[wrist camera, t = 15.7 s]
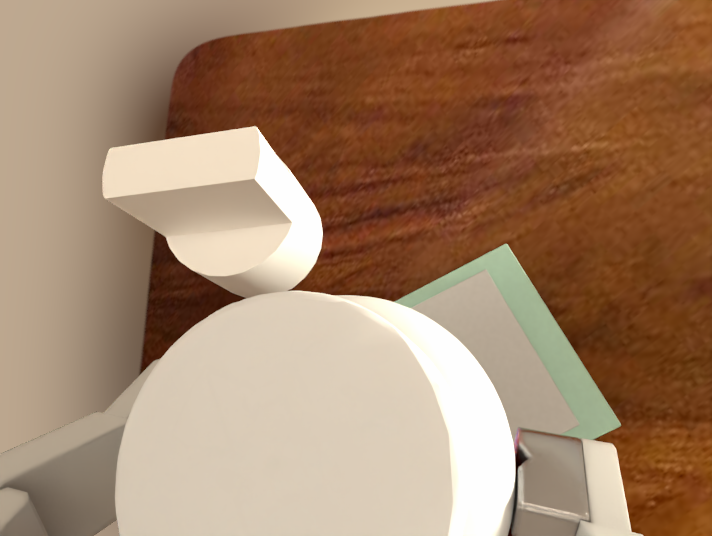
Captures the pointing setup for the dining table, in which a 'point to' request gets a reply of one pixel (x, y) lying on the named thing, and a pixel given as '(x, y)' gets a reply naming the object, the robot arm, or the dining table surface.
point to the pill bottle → (316, 427)
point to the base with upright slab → (220, 207)
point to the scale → (516, 346)
